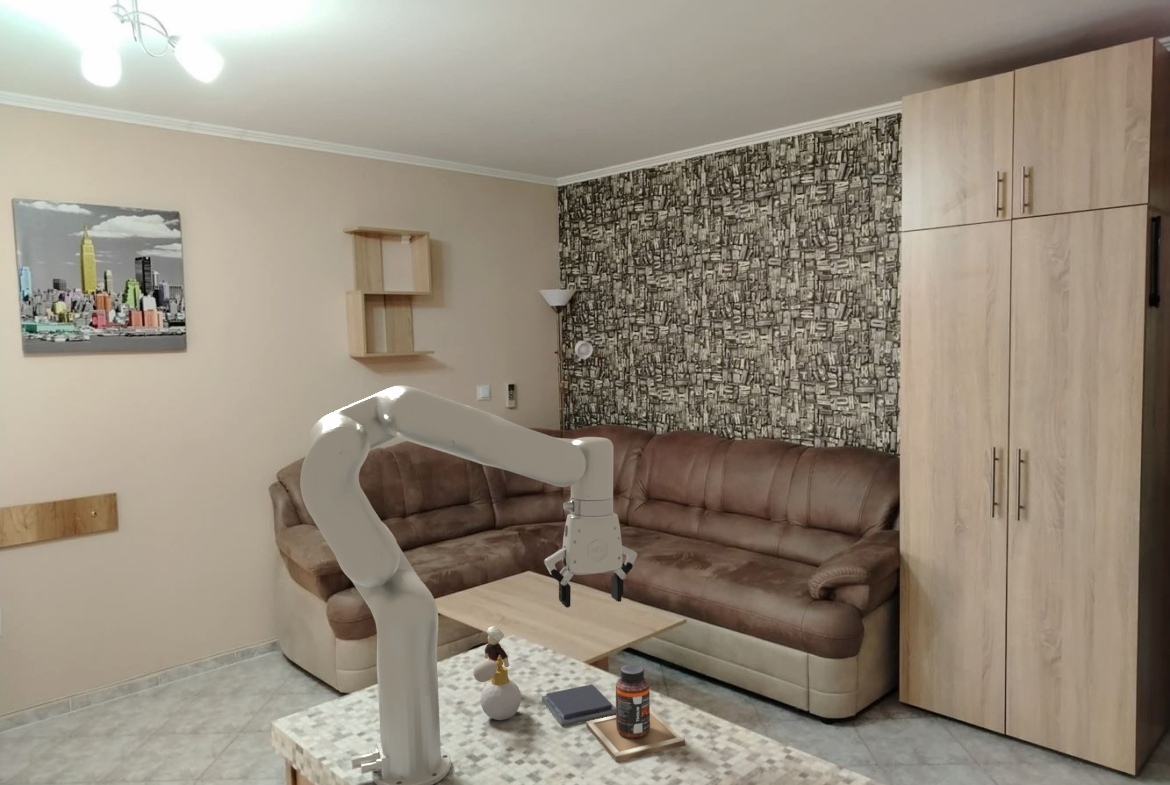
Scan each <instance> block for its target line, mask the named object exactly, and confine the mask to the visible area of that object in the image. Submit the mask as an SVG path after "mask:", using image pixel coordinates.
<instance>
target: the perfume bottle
mask: <svg viewBox="0 0 1170 785" xmlns="http://www.w3.org/2000/svg"><path fill="white" fill-rule="evenodd" d="M501 659H502V658H501V657H500V655H499V656H498V661H497V662H496V663H495V662H494V661H489V660H483V661H480V662H478V663H477V664H476V665H475V666H474V668H473V672H472V673H473V677H474V679H475V680H476V681H478V682H479V683H486V682H488V680H490V679H491V678H492V680H491V681H490V682H489V683H487V684H486V686H485V687H483V688H482V691H481V694H480V706H481V708H482V710H483V712H484V713H485V715H486V716H487V717H489V718H490V719H493V720H496V721H497V720H498V721H503V720H507V719H510V718H511V717H513V716H514V715H516V713H517V712H518V710H519V709H520V706H521V703H522V702H521V701H522V696H521V694H522V693H521V690H520V687H519V686H518V685H517V684H516V683H515V682H514V681H513V680H512V679H510V678H509V676H508V675H509V674H508V673H509V672H508V667H505V666H503V665H504V662H503V660H501ZM497 666H498V667H497Z"/></svg>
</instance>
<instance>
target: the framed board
mask: <svg viewBox="0 0 1170 785" xmlns="http://www.w3.org/2000/svg"><path fill="white" fill-rule="evenodd" d="M585 724H586V725H585V726H586V728H587V729H588V731H589V730H590V731H589V733H591V734H592V736H593V737H594V738H595V737H596V738H595V739H596V740H597V741H598V742H599V744H600V745H601V747H603V749H605V751H606V752H607V753H608V754H609V755H610V757H611V758H612V759H613V760H614V762H616V763H617V762H620V761H621V762H622V761H625V760H629V759H632V758H633V759H634V758H637V757H641V756H645V755H650V754H654V753H658V752H662V751H666V750H670V749H673V748H678V747H682V746H686V739H685V737H683V736H682V735H681V734H680V733H679V732H678V731H677V730H676V729H675V728H674V727H673V726H671V725H670V724H669V723H668V722H667V721H666V720H665V719H664V718H663V717H662V716H660V715H659V713H658V712H656V711H655V710H654V709H653V708H652V707H651V706H650V731H649V733H648V734H647V735H645V736H643V737H640V738H628V737H624V736H622V735H620V734H619V733H618V731H617V726H616V715H612V716H607V717H603V718H598V719H594V720H589V721H585Z"/></svg>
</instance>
